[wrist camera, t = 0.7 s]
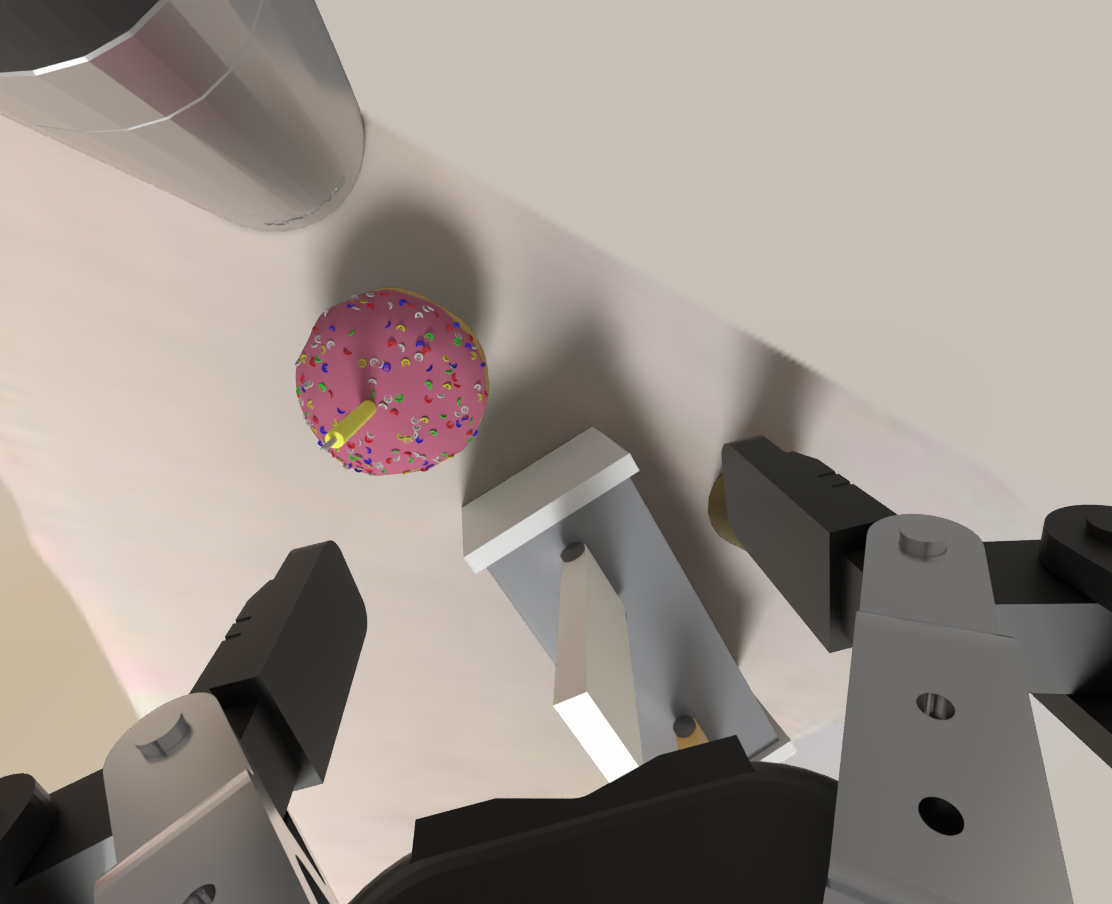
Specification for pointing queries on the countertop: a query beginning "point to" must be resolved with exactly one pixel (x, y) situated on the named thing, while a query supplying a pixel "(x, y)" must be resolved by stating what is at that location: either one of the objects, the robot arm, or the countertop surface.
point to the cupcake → (392, 382)
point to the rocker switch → (595, 666)
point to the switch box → (617, 590)
